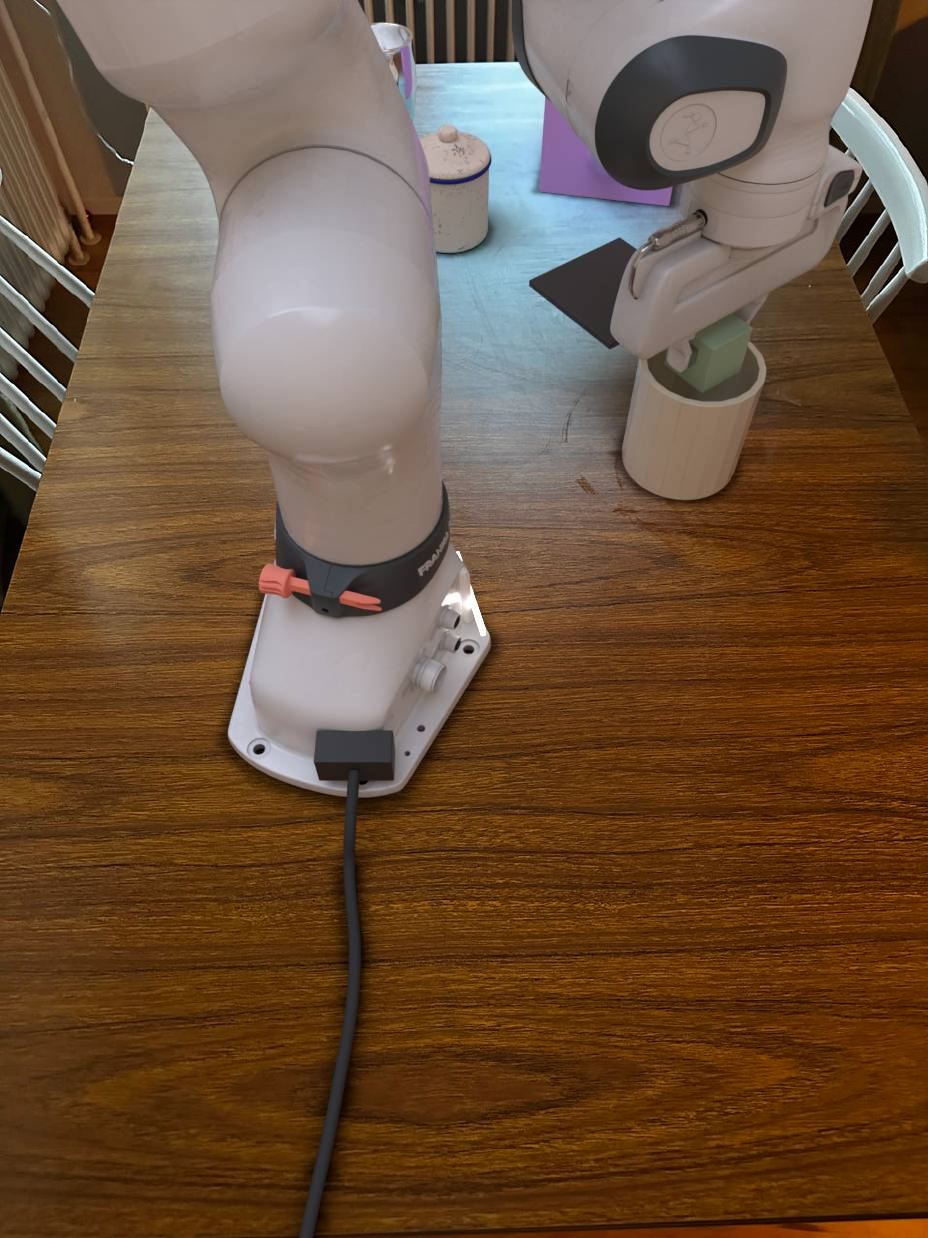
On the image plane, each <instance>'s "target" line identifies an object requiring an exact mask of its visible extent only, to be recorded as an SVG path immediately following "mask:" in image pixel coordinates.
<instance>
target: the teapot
mask: <svg viewBox="0 0 928 1238" xmlns="http://www.w3.org/2000/svg"><path fill="white" fill-rule="evenodd" d="M541 139H542V140H541V151H540V152H541V154H540V169H539V181H538V183H539V184H538V192H540V193H550V194H558V195H565V196H566V195H567V196H574V197H583V198H584V197H585V198H592V199H599V200H601V199H602V200H612V201H619V202H627V203H628V202H629V203H637V204H647V205H654V206H655V205H656V206H664V207H670V204H671V203H670V202H671V197H672V193H673V187H669V188H665V189H660V190H651V191H645V190H636V189H632V188H629V187H626V186H624V185H622V184H620V183H618V182H617V181H615V180H614V179H613V178H612V177H611V176H610V175H609V174H608V173H607V172H606V171H605V170H604V169H603V168H602V166H601V165H600V164H599V163H598V162H597V160H596V159H595V158H594V156H593V155H592V154H591V153H590V151H589V150H588V149H587V147H586V146H585V145H584V143H583V142H582V141H581V140H580V139H579V138H578V136H577V135H576V134H575V133H574V131H573V130H572V129H571V127H570V126H569V125H568V123H567V122H566V121H565V119H564V118H563V117H562V115H561V114H560V113H559V111H558V110H557V109H556V107H555V106H554V105H553V103H552V102H550V101H549V100H548V99H547V98H546V97H545V96H544V110H543V123H542V138H541Z"/></svg>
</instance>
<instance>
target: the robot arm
mask: <svg viewBox="0 0 928 1238" xmlns="http://www.w3.org/2000/svg"><path fill="white" fill-rule="evenodd" d="M56 2H57V4H58V6H59V8H60V9H61V11H62V12H63V14H64V16H65V17H66V19H67V21H68V22H69V24H70V26H71V27H72V29H73V31H74V33H75V34H76V35H77V38H78V39H79V41H80V43H82V46H83V47H84V50H85V51H86V53H87V54H88V56H89V58H90V59H91V60H92V63H93V65H94V67H95V68H96V69H97V71H98V72H99V74H100V75H101V76H102V77H103V78H104V79H105V81H106V82H107V83H108V84H109V85H110V86H112V87H113V88H114V89H115V90H117V91H118V92H119V93H121V94H123V95H124V96H126V97H128V98H130V99H132V100H134V101H137V102H140V103H143V104H146V105H148V106H149V107H150V108H151V109H152V110H153V111H154V113H156V114H157V115H158V116H159V117H160V118H161V120H162V121H163V122H164V123H165V125H167V126H168V127H169V128H170V130H171V131H172V132H173V133H174V134H175V136H177V138H178V139H179V140H180V141H181V143H183V145H184V146H185V148H187V150H188V151H189V153H190V154H191V155H192V156H193V158H194V159H195V160H196V162H197V164H198V165H199V167H200V168H201V171H202V172H203V174H204V176H205V179H206V180H207V183H208V186H209V188H210V191H211V196H212V198H213V202H214V207H215V211H216V217H217V223H218V237H217V238H218V239H217V246H216V252H215V253H216V254H215V261H214V266H213V275H212V282H211V289H210V294H209V295H210V297H209V305H208V320H209V329H210V338H211V345H212V346H211V347H212V354H213V359H214V366H215V370H216V376H217V381H218V385H219V390H220V396H221V399H222V402H223V404H224V405H223V406H224V408H226V409H225V410H226V411H227V413H228V415H229V417H230V419H231V420H232V422H233V423H234V424H235V426H236V427H237V428H238V429H239V430H240V432H242V434H244V435H245V436H246V437H247V438H248V439H249V440H250V441H252V442H253V443H255V444H256V445H257V446H259V447H260V448H262V449H263V450H265V454H266V458H267V462H268V467H269V471H270V475H271V480H272V482H273V488H274V491H275V495H276V499H277V500H276V506H275V508H276V509H275V517H274V524H273V525H274V528H273V540H274V541H275V558H274V561H273V563H267V564H265V565H264V566H263V568H262V570H261V572H260V575H259V581H258V589H259V591H260V593H262V594H264V598H263V601H262V605H261V608H260V612H259V615H258V620H257V623H256V627H255V630H254V634H253V638H252V641H251V646H250V649H249V652H248V655H247V659H246V662H245V667H244V669H243V673H242V677H241V681H240V684H239V688H238V692H237V695H236V699H235V702H234V706H233V709H232V713H231V717H230V721H229V725H228V728H227V737H228V742H229V744H230V745H231V747H232V748H233V750H234V751H235V752H236V754H238V755H239V756H240V757H241V758H242V759H243V760H244V761H245V762H247V763H248V764H249V765H251V766H252V767H253V768H255V769H256V770H258V771H260V772H262V773H263V774H266V775H267V776H270V777H272V778H274V779H276V780H278V781H281V782H283V783H286V784H290V785H292V786H296V787H298V788H301V789H305V790H308V791H311V792H312V791H313V792H316V793H321V794H324V795H329V796H330V795H331V796H336V797H344V798H346V799H345V811H344V827H343V847H342V854H343V855H342V869H343V890H344V901H345V902H344V903H345V915H346V924H347V926H346V927H347V939H348V970H347V971H348V975H347V987H346V988H347V989H346V998H345V1008H344V1015H343V1022H342V1026H341V1027H342V1028H341V1034H340V1039H339V1045H338V1050H337V1054H336V1055H337V1056H336V1061H335V1066H334V1070H333V1077H332V1082H331V1086H330V1092H329V1097H328V1102H327V1107H326V1108H327V1109H326V1113H325V1118H324V1123H323V1128H322V1131H321V1132H322V1133H321V1137H320V1141H319V1146H318V1151H317V1155H316V1159H315V1164H314V1168H313V1172H312V1177H311V1180H310V1185H309V1190H308V1194H307V1198H306V1202H305V1207H304V1211H303V1215H302V1216H303V1217H302V1220H301V1226H300V1229H299V1235H298V1238H314V1235H315V1231H316V1227H317V1222H318V1221H317V1220H318V1217H319V1212H320V1208H321V1207H320V1206H321V1202H322V1198H323V1193H324V1189H325V1184H326V1180H327V1177H328V1176H327V1175H328V1171H329V1166H330V1163H331V1157H332V1153H333V1149H334V1145H335V1144H334V1143H335V1140H336V1134H337V1131H338V1124H339V1120H340V1115H341V1109H342V1105H343V1104H342V1103H343V1099H344V1093H345V1087H346V1082H347V1077H348V1072H349V1071H348V1070H349V1067H350V1059H351V1054H352V1049H353V1044H354V1037H355V1031H356V1025H357V1019H358V1018H357V1017H358V1012H359V1011H358V1010H359V1003H360V993H361V975H362V940H361V926H360V914H359V906H358V904H359V903H358V895H357V894H358V893H357V881H356V879H357V878H356V840H357V839H356V838H357V819H358V806H359V805H358V804H359V798H361V799H363V798H376V797H384V796H388V795H391V794H395V793H398V792H400V791H402V790H403V789H404V788H405V786H406V785H407V784H408V783H409V780H411V778H412V776H413V775H414V773H415V771H416V770H417V768H418V767H419V765H420V763H421V762H422V761H423V759H424V757H425V755H426V754H427V752H428V751H429V749H430V747H432V744H433V743H434V741H435V739H436V737H437V736H438V734H439V733H440V732H441V730H442V728H443V726H444V725H445V723H446V722H447V721H448V719H449V717H450V715H451V713H452V712H453V710H454V709H455V707H456V705H457V704H458V702H459V701H460V699H461V698H462V695H463V694H465V693H464V692H465V691H466V689H467V688H468V686H469V684H470V683H471V682H472V680H473V678H474V677H475V675H476V673H477V672H478V670H479V668H480V667H481V665H482V664H483V662H484V660H485V659H486V657H487V656H488V654H489V652H490V651H491V648H492V639H491V635H490V633H489V630H488V628H487V627H486V626H485V624H484V620H483V618H482V614H481V612H480V609H479V606H478V602H477V600H476V598H475V597H476V596H475V595H474V591H473V588H472V585H471V576H470V571H469V569H467V566H466V564H465V562H464V561H463V559H462V555H461V553H460V551H457V550H456V548H455V547H454V545H453V544H452V542H451V528H452V508H451V504H450V499H449V495H448V491H447V487H446V485H445V482H444V479H443V463H442V462H443V460H442V458H443V457H442V429H441V426H442V425H441V422H442V421H441V411H442V393H443V392H442V390H443V389H442V388H443V387H442V385H443V318H442V309H441V308H442V307H441V297H440V296H441V294H440V283H439V271H438V269H439V268H438V258H437V252H436V244H435V236H434V225H433V213H432V201H431V189H430V177H429V168H428V163H427V159H426V156H425V153H424V150H423V148H422V145H421V142H420V139H419V137H420V136H419V135H418V132H417V129H416V127H415V124H414V121H413V122H412V119H411V117H410V114H409V112H408V110H407V107H406V105H405V102H404V100H403V97H402V95H401V93H400V90H399V88H398V86H397V83H396V81H395V79H394V76H393V74H392V72H391V69H390V67H389V65H388V63H387V60H386V58H385V56H384V54H383V51H382V49H381V47H380V45H379V43H378V41H377V39H376V36H375V34H374V32H373V30H372V28H371V26H370V24H371V23H370V22H369V19H368V18H367V16H366V14H365V12H364V10H363V8H362V5H361V4H360V1H359V0H56ZM873 2H874V0H511V36H512V43H513V48H514V54H515V56H516V59H517V62H518V64H519V66H520V69H521V71H522V72H523V74H524V76H525V77H526V78H527V80H529V82H531V84H532V85H533V86H534V87H535V88H536V89H537V90H538V91H539V92H540V93H541V95H543V96H544V98H545V97H546V98H547V99H548V100H549V101H550V102H552V103H553V105H554V106H555V107H556V109H557V110H558V111H559V113H560V114H561V115H562V117H563V118H564V119H565V121H566V122H567V123H568V125H569V126H570V127H571V129H572V130H573V131H574V133H575V134H576V135H577V136H578V138H579V139H580V140H581V141H582V142H583V143H584V145H585V146H586V147H587V149H588V150H589V151H590V153H591V154H592V155H593V156H594V158H595V159H596V160H597V162H598V163H599V164H600V165H601V166H602V168H603V169H604V170H605V171H606V172H607V173H608V174H609V175H610V176H611V177H612V178H613V179H614V180H615V181H617V182H618V183H620V184H622V185H624V186H626V187H629V188H632V189H636V190H645V191H651V190H660V189H665V188H669V187H672V188H673V187H676V186H680V185H682V188H681V193H680V198H679V204H678V205H679V210H680V215H681V216H682V217H681V218H680V219H679V220H677V221H676V222H674V223H673V224H671V225H669V226H667V227H663V228H660V229H658V230H655V231H654V232H652V233H651V234H650V236H648V238H647V242H645V243H643V244H642V245H640V247H638V248H636V249H637V250H636V251H635V253H634V254H633V255H632V257H631V258H630V260H629V262H628V264H627V266H626V269H625V271H624V274H623V277H622V280H621V284H620V287H619V291H618V294H617V298H616V302H615V306H614V310H613V315H612V319H611V325H610V331H611V334H612V336H613V337H614V338H615V340H616V341H617V342H618V343H620V346H621V347H623V348H624V349H625V350H627V351H628V352H629V353H631V354H632V355H634V356H636V357H637V358H638V359H639V358H640V359H644V360H645V359H649V358H651V357H653V356H654V355H656V354H658V353H660V352H661V351H663V350H665V349H667V348H669V347H670V348H669V352H668V357H667V361H668V363H669V365H670V366H672V367H673V368H674V369H676V370H677V371H678V372H683V371H684V370H686V369H687V368H689V367H691V366H692V365H694V364H695V363H696V358H697V355H698V351H699V349H697V348H696V347H695V346H693V345H692V344H690V343H689V340H692V339H694V337H695V334H696V332H698V331H700V330H702V329H703V328H705V327H707V326H709V325H711V324H712V323H714V322H716V321H718V320H720V319H722V318H723V317H725V316H727V315H729V314H731V313H733V314H734V315H735V316H737V317H738V318H740V319H741V320H743V321H744V322H745V323H747V324H748V325H750V324H751V321H752V320H753V319H754V318H755V316H756V314H757V313H758V311H759V310H760V309H761V308H762V306H763V305H764V303H765V302H766V301H767V299H768V296H769V293H771V292H773V291H775V290H777V289H779V288H780V287H782V286H783V285H786V284H787V283H789V282H791V281H793V280H794V279H796V278H798V277H800V276H801V275H804V274H806V273H807V272H809V271H811V270H813V269H815V268H816V267H818V266H819V264H820V263H821V262H822V261H823V259H824V258H825V257H826V255H827V254H828V253H829V251H830V249H831V248H832V246H833V243H834V241H835V238H836V237H837V233H838V231H839V228H840V226H841V223H842V221H843V219H844V214H845V212H846V210H847V206H848V201H849V195H850V194H851V193H853V192H854V191H855V190H856V188H857V186H858V184H859V181H860V179H861V176H862V173H863V165H862V164H861V163H860V162H859V161H857V160H855V159H854V158H852V157H850V156H849V155H848V154H846V153H844V152H843V151H841V150H840V149H838V148H837V147H834V146H833V145H831V144H830V131H831V125H832V122H833V119H834V118H835V115H836V113H837V112H838V110H839V108H840V107H841V105H842V104H843V102H844V100H845V99H846V96H847V94H848V92H849V89H850V88H851V87H850V86H851V83H852V80H853V77H854V74H855V71H856V68H857V65H858V61H859V58H860V54H861V52H862V48H863V44H864V40H865V36H866V32H867V30H868V29H867V28H868V25H869V20H870V16H871V11H872V7H873ZM750 326H751V325H750ZM466 651H471V652H472V653H466ZM260 749H261V750H264V751H263V753H260V754H257V753H256V752H257V751H258V750H260ZM361 781H362V782H366V781H367V782H366V783H364V784H360V782H361Z"/></svg>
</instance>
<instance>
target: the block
mask: <svg viewBox="0 0 928 1238" xmlns="http://www.w3.org/2000/svg"><path fill="white" fill-rule="evenodd" d="M753 329H754V327H753V326H751V325H748V324H747V323H745V322H744V321H743V320H741V319H740V318H738V317H737V316H735V315H734V314H733V313H731V314H729V315H727V316H725V317H723V318H722V319H720V320H718V321H716V322H714V323H712V324H711V325H709V326H707V327H705V328H703V329H702V330H700V331H698V332H696V334H695V337H694V339H692V340H689V343H690V344H692V345H693V346H695V347H696V348H697V349H699V351H698V355H697V358H696V363H695V364H694V365H692V366H691V367H689V368H687V369H686V370H684V371H683V372H678V371H677V370H676V369H674V368H673V367H672V366H670V365H669V363H668V361H667V357H668V352H669V348H670V347H669V348H668V350H667V354H666V359H665V365H666V366H667V367H668V368H670V369H671V370H672V371H673V372H675V373H676V374H677V375H679V376H680V377H681V378H683V379H684V380H685V381H687V382H688V383H689V384H690V385H692V386H693V387H694V388H696V389H697V390H698V391H700V392H701V393H704V392H705V391H707V390H709V389H710V388H712V387H714V386H716V385H717V384H719V383H721V382H723V381H724V380H726V379H728V378H729V377H731V376H733V375H735V374H736V373H738V372H740V370H741V366H742V363H743V360H744V356H745V353H746V350H747V346H748V343H749V341H750V339H751V336H752V333H753Z"/></svg>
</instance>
